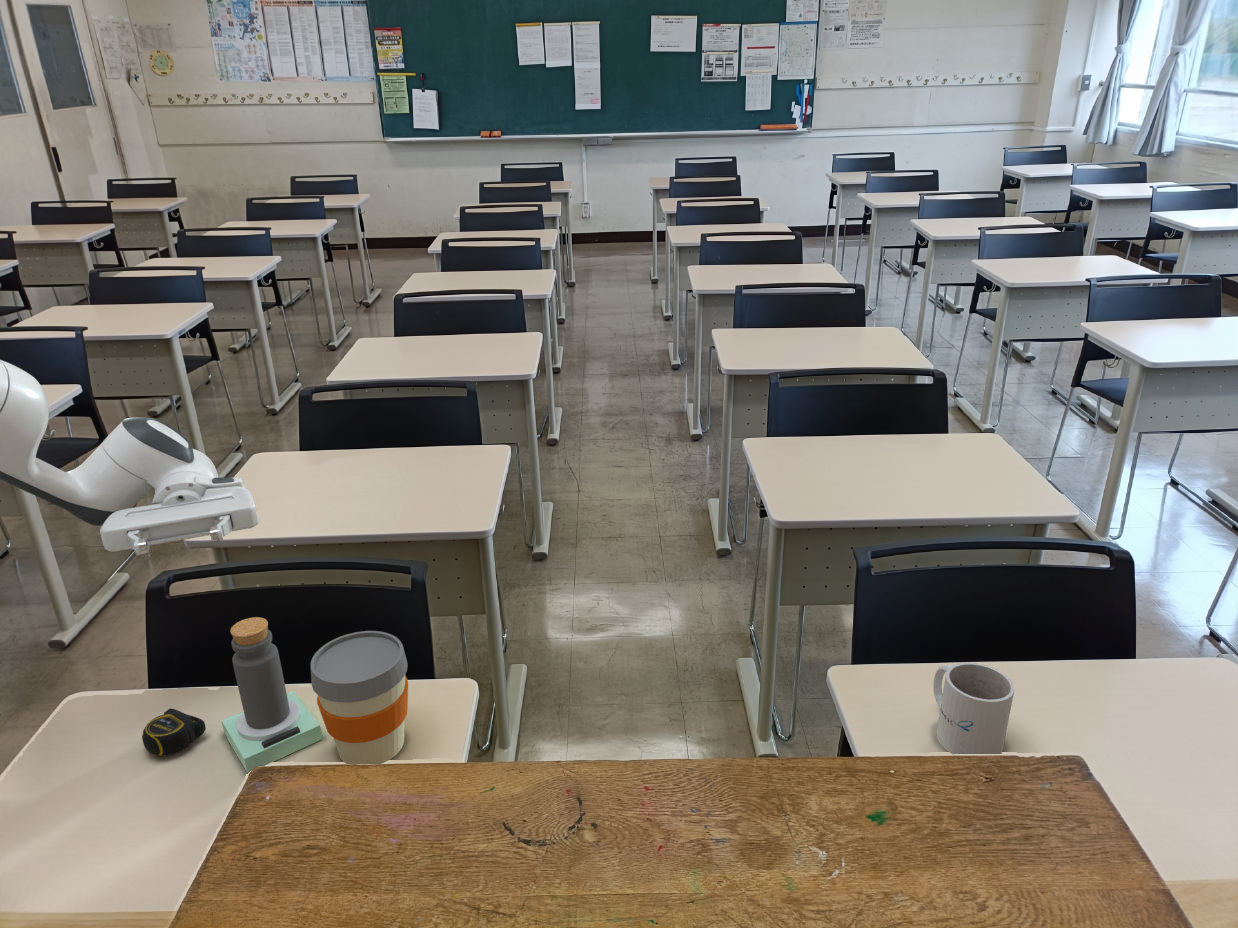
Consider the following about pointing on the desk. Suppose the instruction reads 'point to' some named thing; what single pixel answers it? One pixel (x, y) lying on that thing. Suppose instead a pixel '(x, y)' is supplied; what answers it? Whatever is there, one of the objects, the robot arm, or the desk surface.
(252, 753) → the scale
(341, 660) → the reusable coffee cup
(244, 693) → the bottle
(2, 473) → the robot arm
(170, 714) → the tape measure
